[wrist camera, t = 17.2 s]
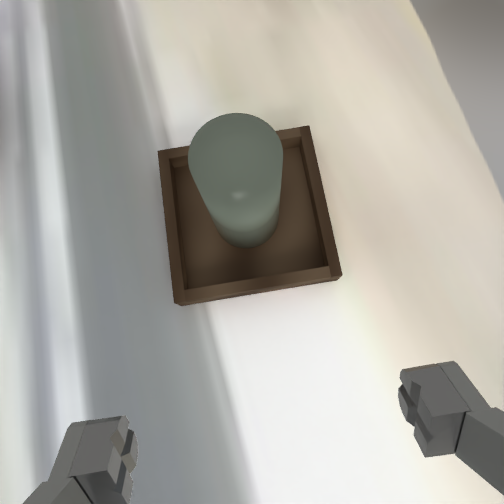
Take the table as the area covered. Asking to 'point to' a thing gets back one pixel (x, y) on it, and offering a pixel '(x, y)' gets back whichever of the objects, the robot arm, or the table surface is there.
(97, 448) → the robot arm
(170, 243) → the walnut tray
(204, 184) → the sage ceramic canister
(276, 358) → the table surface
